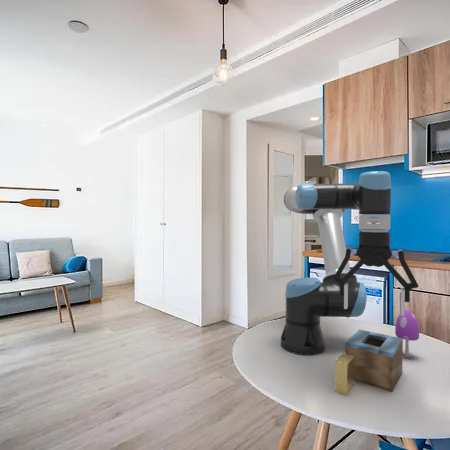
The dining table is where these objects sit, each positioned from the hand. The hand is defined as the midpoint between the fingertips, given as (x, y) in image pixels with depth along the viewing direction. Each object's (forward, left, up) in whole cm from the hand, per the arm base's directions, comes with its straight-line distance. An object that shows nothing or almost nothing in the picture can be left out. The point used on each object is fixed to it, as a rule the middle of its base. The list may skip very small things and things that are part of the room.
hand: (373, 310), depth 86 cm
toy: (+4, +26, -20) cm, 33 cm away
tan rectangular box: (-5, -6, -20) cm, 22 cm away
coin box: (-1, +6, -20) cm, 21 cm away
